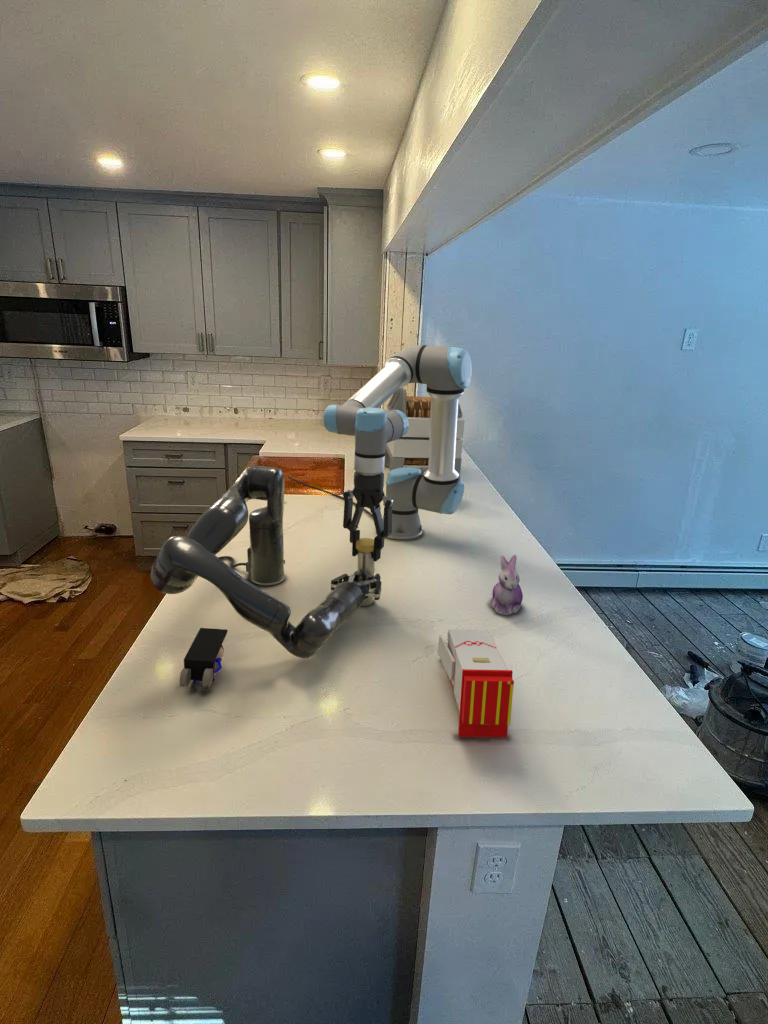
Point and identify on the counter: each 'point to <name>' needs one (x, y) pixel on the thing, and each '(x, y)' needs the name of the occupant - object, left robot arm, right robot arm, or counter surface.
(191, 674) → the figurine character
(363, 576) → the bottle
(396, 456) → the white wooden crate
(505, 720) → the toy
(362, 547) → the lid
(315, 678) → the counter surface
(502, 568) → the figurine
